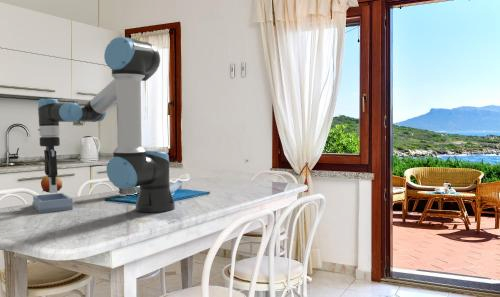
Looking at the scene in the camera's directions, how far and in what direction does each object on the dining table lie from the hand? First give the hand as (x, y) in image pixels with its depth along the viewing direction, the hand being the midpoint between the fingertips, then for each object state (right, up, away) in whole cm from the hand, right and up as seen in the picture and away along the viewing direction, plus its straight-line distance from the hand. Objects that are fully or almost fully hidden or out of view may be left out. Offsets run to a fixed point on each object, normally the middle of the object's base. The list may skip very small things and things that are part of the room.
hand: (51, 191), depth 182 cm
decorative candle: (+23, -5, +31) cm, 39 cm away
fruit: (0, 0, 0) cm, 1 cm away
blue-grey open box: (-1, -7, +2) cm, 7 cm away
